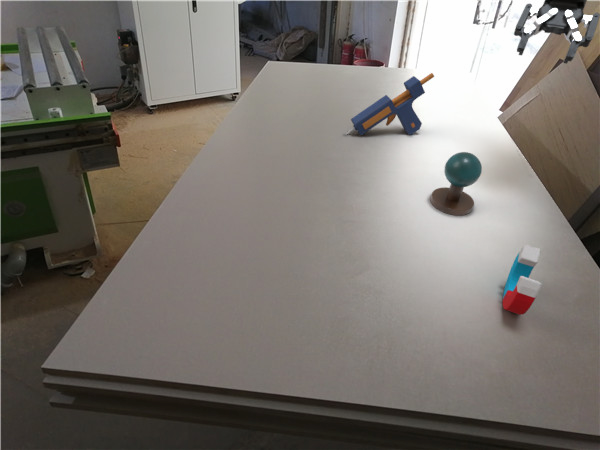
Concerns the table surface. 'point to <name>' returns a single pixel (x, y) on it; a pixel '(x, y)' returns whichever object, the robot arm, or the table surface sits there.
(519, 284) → the magnet
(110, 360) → the table surface
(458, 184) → the ball stand
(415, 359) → the table surface
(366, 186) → the table surface
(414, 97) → the glue gun
